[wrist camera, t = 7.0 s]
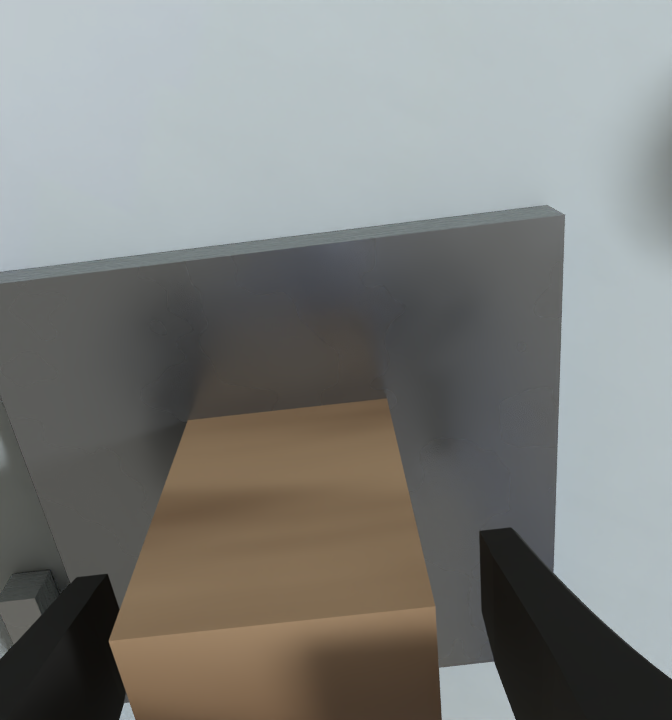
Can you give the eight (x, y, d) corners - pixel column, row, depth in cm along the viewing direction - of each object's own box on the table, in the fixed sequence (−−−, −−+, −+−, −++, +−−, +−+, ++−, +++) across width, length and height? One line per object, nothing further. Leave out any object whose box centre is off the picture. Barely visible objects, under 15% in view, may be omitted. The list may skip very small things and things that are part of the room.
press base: (535, 800, 22) (545, 832, 21) (125, 844, 22) (117, 878, 21) (547, 205, 13) (565, 214, 12) (-109, 285, 14) (-139, 300, 13)
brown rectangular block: (403, 592, 16) (448, 854, 11) (231, 610, 16) (191, 880, 11) (387, 398, 14) (435, 606, 8) (188, 420, 14) (108, 641, 9)
